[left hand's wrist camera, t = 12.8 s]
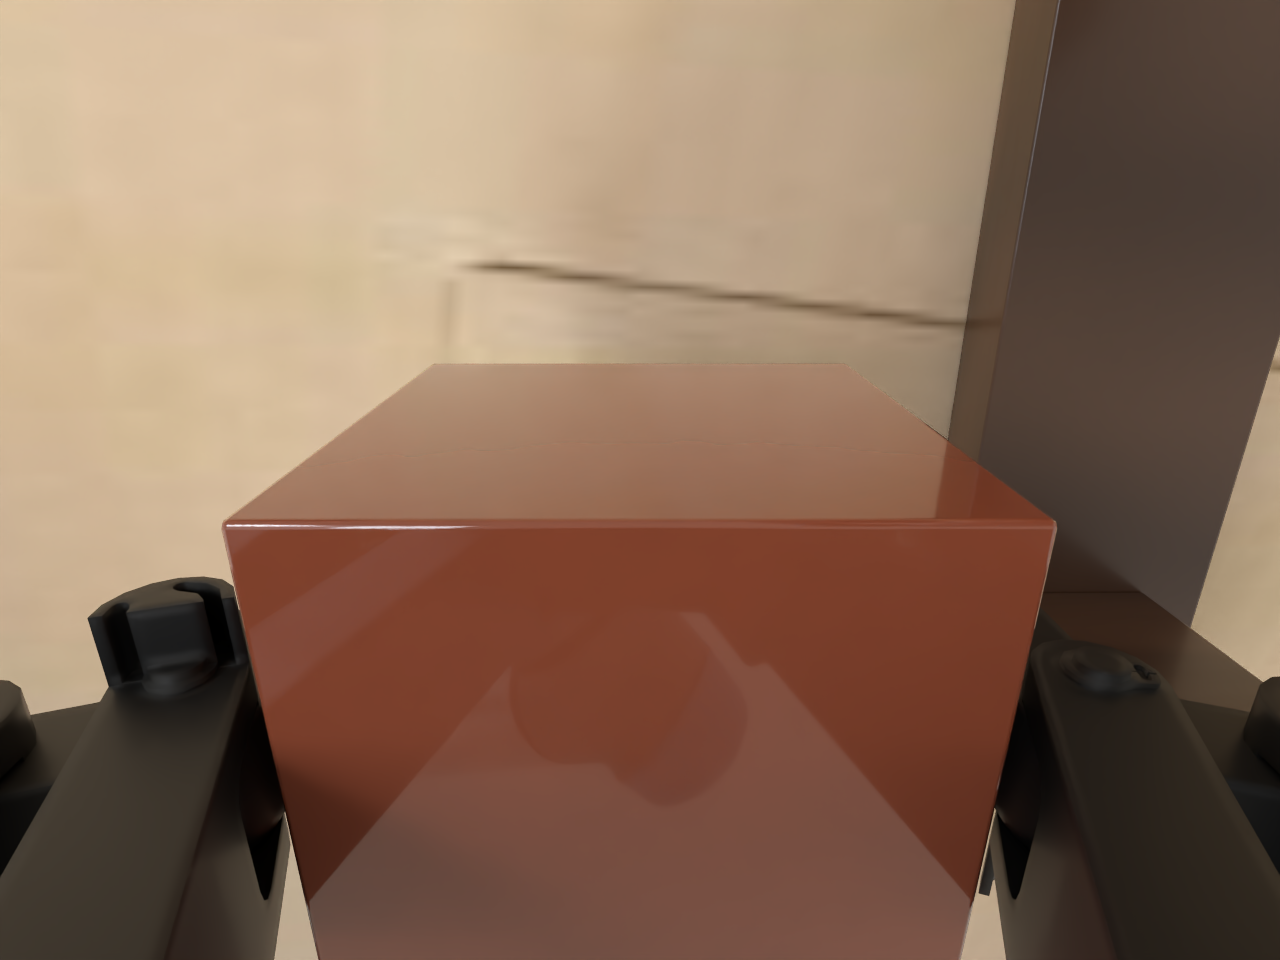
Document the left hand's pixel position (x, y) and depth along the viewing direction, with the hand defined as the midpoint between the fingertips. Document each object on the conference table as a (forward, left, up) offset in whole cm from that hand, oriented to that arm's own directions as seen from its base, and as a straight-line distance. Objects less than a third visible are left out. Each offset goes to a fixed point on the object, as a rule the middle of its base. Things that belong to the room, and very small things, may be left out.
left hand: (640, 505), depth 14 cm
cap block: (0, 0, +2) cm, 2 cm away
